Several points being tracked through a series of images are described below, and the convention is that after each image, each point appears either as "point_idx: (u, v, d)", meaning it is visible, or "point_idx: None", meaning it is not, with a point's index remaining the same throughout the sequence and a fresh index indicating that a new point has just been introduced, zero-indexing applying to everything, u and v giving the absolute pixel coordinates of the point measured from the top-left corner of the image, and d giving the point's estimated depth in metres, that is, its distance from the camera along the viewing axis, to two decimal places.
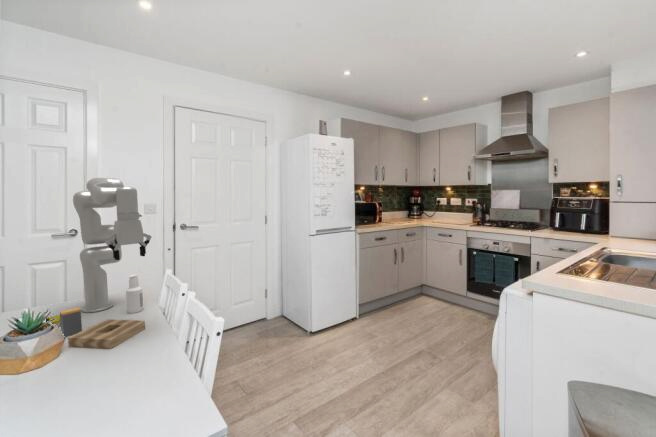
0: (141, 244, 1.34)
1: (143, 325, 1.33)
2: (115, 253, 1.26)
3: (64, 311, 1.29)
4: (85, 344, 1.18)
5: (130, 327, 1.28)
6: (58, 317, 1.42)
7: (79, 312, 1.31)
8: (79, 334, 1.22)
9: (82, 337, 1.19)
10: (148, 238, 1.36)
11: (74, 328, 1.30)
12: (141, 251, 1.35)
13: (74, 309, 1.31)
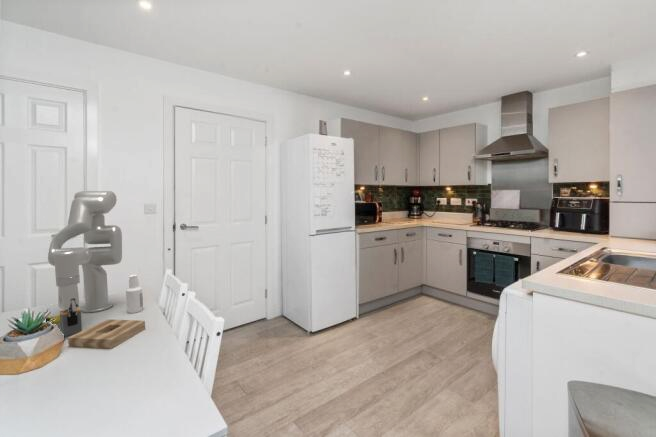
0: (71, 308, 1.32)
1: (143, 325, 1.33)
2: None
3: (64, 311, 1.29)
4: (85, 344, 1.18)
5: (130, 327, 1.28)
6: (59, 317, 1.42)
7: (79, 312, 1.31)
8: (79, 334, 1.22)
9: (82, 337, 1.19)
10: None
11: (74, 328, 1.30)
12: None
13: None
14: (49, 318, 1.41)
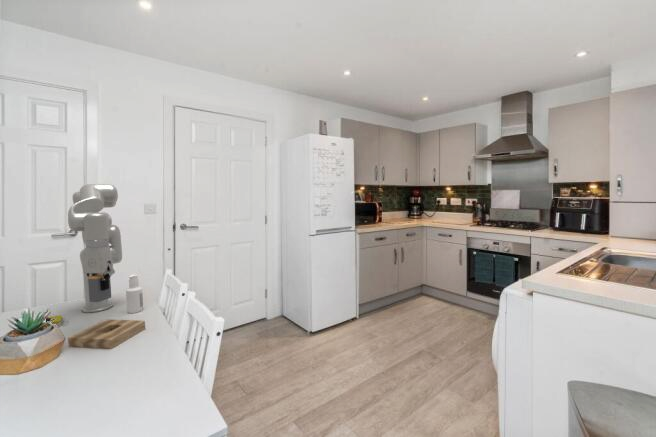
0: (96, 274, 1.27)
1: (143, 325, 1.33)
2: None
3: (94, 276, 1.24)
4: (85, 344, 1.18)
5: (130, 327, 1.28)
6: (59, 317, 1.42)
7: None
8: (79, 334, 1.22)
9: (82, 337, 1.19)
10: None
11: (105, 293, 1.26)
12: None
13: None
14: (50, 318, 1.41)
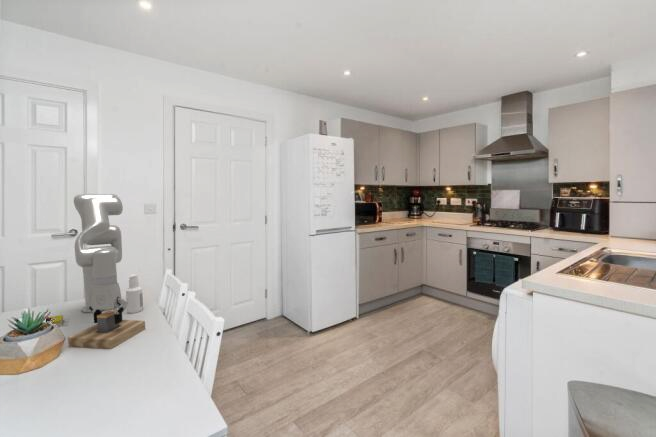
0: None
1: (143, 325, 1.33)
2: None
3: (103, 314, 1.24)
4: (85, 344, 1.18)
5: (130, 327, 1.28)
6: (60, 317, 1.42)
7: None
8: (79, 334, 1.22)
9: (82, 337, 1.19)
10: None
11: None
12: None
13: (111, 311, 1.27)
14: (50, 318, 1.41)
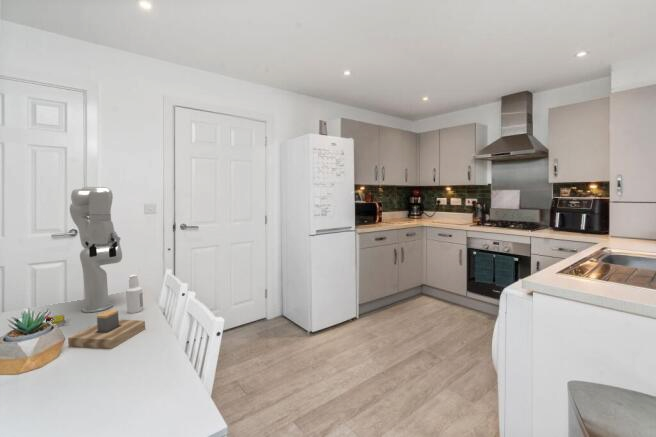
0: (95, 244, 1.41)
1: (143, 325, 1.33)
2: None
3: (103, 314, 1.24)
4: (85, 344, 1.18)
5: (130, 327, 1.28)
6: (61, 316, 1.42)
7: (117, 314, 1.28)
8: (79, 334, 1.22)
9: (82, 337, 1.19)
10: None
11: None
12: (94, 251, 1.40)
13: (111, 311, 1.27)
14: (51, 318, 1.41)
